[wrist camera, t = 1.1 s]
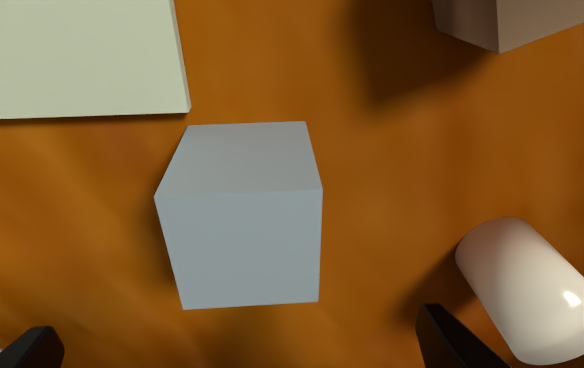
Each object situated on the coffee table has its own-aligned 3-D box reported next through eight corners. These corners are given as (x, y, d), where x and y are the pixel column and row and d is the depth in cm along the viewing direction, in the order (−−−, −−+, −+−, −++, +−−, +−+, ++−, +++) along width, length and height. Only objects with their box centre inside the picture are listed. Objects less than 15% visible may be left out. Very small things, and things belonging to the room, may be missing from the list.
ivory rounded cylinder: (519, 273, 19) (591, 361, 15) (447, 278, 19) (499, 368, 15) (546, 214, 17) (639, 297, 13) (465, 218, 17) (532, 304, 13)
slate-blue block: (304, 213, 16) (318, 301, 12) (205, 218, 16) (183, 309, 12) (304, 120, 14) (323, 189, 10) (188, 124, 14) (153, 196, 9)
